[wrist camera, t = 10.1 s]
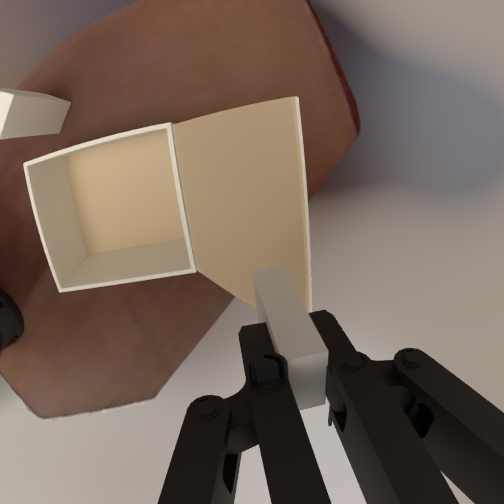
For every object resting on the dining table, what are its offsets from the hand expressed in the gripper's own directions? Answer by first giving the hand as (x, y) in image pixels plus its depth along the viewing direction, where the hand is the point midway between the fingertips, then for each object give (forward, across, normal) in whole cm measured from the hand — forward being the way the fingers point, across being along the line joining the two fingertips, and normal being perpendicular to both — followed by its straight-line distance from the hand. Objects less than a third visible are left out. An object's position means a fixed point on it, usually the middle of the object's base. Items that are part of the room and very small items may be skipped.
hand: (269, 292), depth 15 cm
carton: (+39, -17, 0) cm, 43 cm away
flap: (+16, -1, 0) cm, 16 cm away
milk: (+39, -29, +18) cm, 52 cm away
